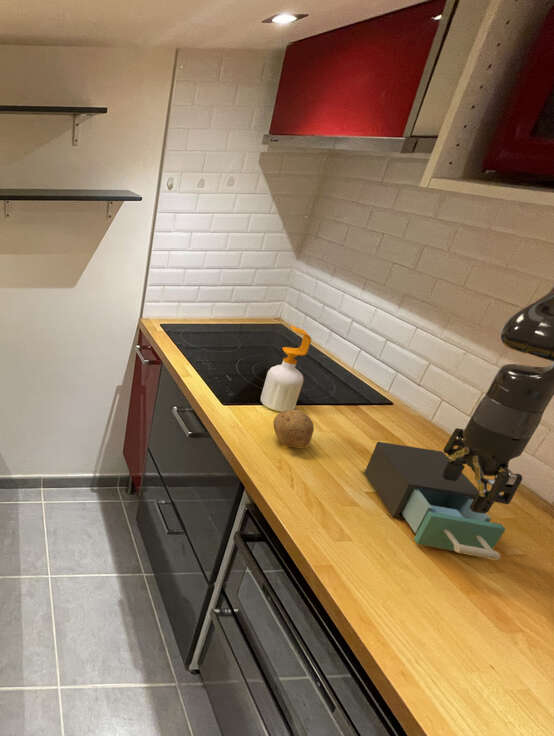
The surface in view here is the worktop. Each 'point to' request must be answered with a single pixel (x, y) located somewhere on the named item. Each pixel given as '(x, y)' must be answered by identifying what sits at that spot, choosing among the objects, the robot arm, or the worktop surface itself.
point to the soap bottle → (285, 378)
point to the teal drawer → (451, 524)
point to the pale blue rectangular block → (446, 511)
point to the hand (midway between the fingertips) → (462, 494)
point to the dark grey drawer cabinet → (411, 474)
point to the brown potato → (293, 428)
